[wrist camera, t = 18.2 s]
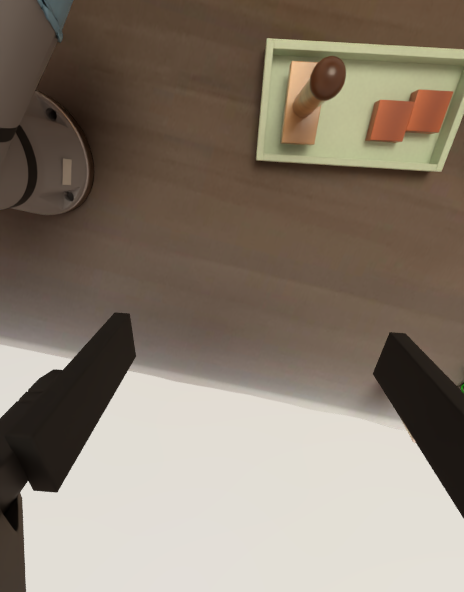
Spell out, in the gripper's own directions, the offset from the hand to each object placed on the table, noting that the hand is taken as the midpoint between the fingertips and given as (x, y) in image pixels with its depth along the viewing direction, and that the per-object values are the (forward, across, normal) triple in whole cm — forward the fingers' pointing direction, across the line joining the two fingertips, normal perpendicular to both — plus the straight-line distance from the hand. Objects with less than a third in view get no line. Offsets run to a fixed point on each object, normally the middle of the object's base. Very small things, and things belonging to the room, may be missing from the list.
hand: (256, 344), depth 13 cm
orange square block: (+28, +20, +15) cm, 38 cm away
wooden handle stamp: (+28, +5, +15) cm, 32 cm away
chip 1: (+28, +16, +14) cm, 35 cm away
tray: (+29, +12, +15) cm, 35 cm away
